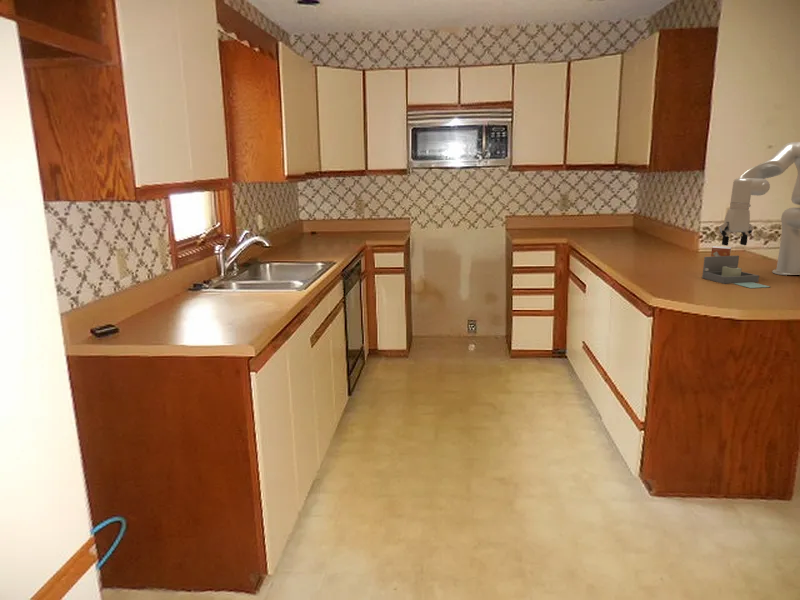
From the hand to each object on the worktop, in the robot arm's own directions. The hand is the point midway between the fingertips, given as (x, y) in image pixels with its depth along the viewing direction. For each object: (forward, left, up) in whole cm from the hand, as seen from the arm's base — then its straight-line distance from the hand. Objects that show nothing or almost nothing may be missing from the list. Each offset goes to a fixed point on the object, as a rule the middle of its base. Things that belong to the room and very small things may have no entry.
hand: (734, 245), depth 270 cm
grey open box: (-1, 0, -16) cm, 16 cm away
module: (-1, 0, -16) cm, 16 cm away
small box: (-7, -15, -17) cm, 23 cm away
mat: (-1, +12, -16) cm, 20 cm away
